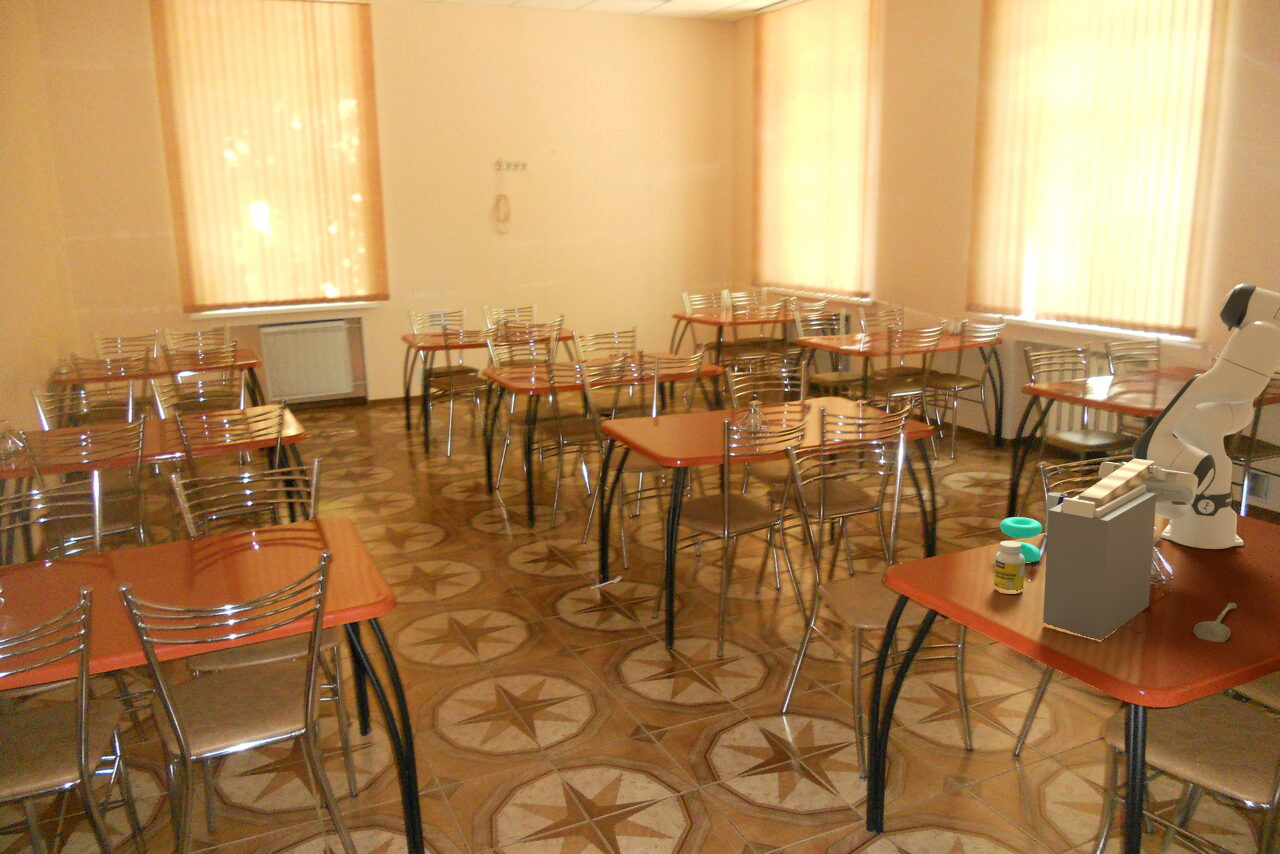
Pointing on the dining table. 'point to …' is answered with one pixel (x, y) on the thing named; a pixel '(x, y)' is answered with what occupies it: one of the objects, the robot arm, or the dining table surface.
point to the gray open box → (1099, 562)
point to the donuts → (1023, 535)
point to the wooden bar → (1118, 482)
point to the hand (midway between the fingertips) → (1137, 467)
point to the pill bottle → (1009, 566)
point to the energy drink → (1053, 503)
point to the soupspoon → (1214, 628)
